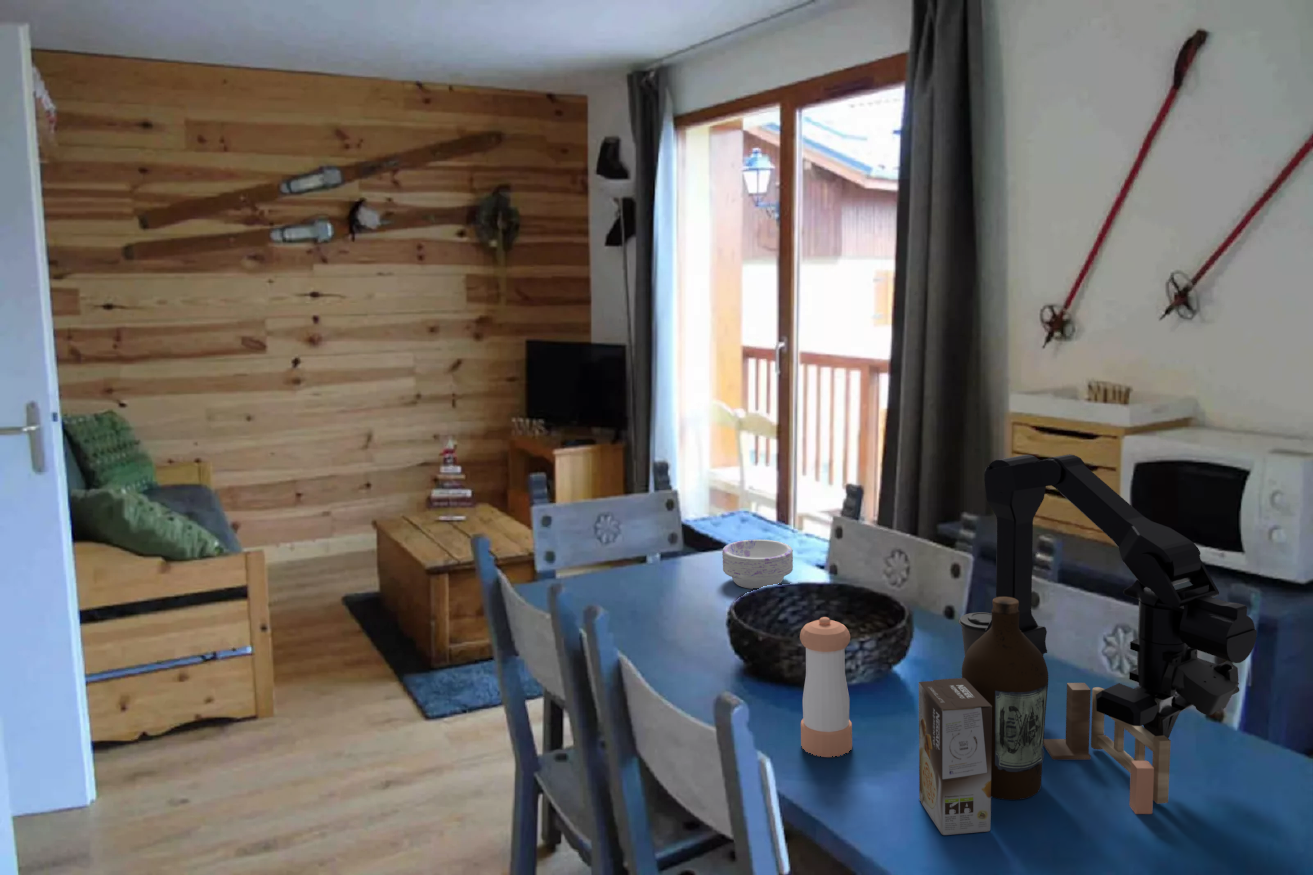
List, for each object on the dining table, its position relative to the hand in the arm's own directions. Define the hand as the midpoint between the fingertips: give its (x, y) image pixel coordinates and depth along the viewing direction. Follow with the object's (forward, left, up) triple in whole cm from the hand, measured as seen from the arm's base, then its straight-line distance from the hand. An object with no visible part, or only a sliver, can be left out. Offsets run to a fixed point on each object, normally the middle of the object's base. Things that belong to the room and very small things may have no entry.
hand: (1158, 750), depth 134 cm
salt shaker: (-42, +11, -5) cm, 43 cm away
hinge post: (-9, +9, -5) cm, 14 cm away
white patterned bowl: (-50, +89, -5) cm, 102 cm away
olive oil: (-20, 0, -5) cm, 20 cm away
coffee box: (-28, -8, -5) cm, 29 cm away
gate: (-3, +2, -4) cm, 6 cm away
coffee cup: (-14, +37, -5) cm, 40 cm away
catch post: (-5, -7, -5) cm, 9 cm away
